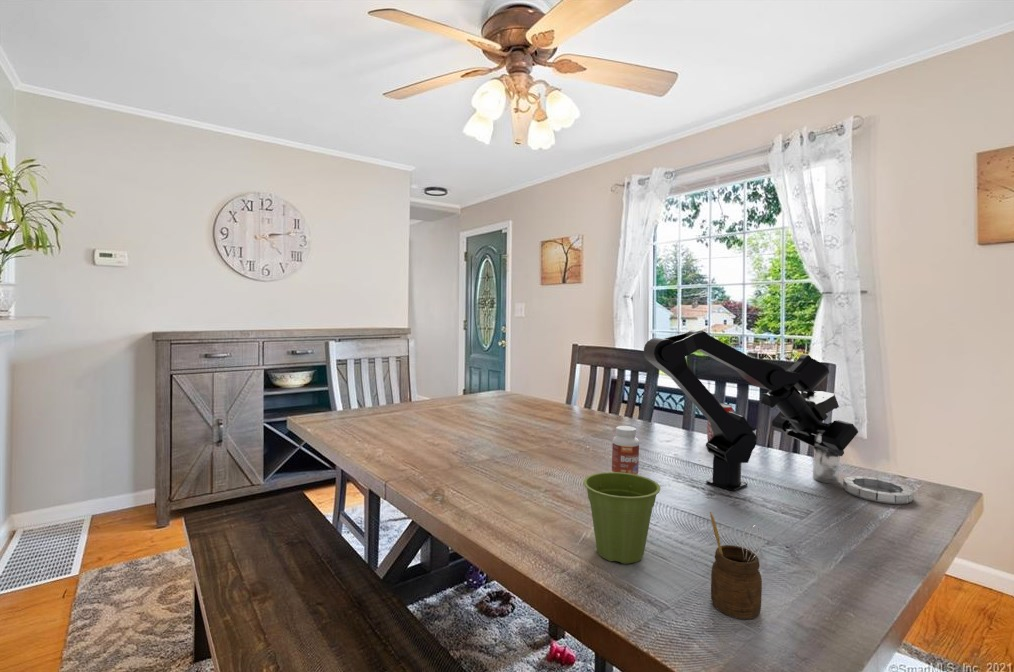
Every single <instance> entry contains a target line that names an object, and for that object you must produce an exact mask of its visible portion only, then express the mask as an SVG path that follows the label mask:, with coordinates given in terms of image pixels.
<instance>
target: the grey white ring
mask: <svg viewBox="0 0 1014 672" xmlns="http://www.w3.org/2000/svg"><path fill="white" fill-rule="evenodd" d="M842 480H843V481H842V482H843V483H842V486H843V490H844V491H845V492H846V493H848V494H850V495H851V496H854V497H855V498H856V497H857V498H859V499H862V500H866V501H871V502H875V503H879V504H886V505H894V506H895V505H896V506H897V505H903V506H904V505H909V504H911V503H912V502H913V500H914V491H913V490H912V489H911V488H910V487H908V486H906V485H904V484H902V483H898V482H895V481H892V480H888V479H883V478H880V477H878V478H877V477H872V476H871V477H870V476H864V475H855V476H854V475H851V476H847V477H844V478H843V479H842Z"/></svg>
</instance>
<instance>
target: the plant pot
mask: <svg viewBox="0 0 1014 672" xmlns="http://www.w3.org/2000/svg"><path fill="white" fill-rule="evenodd" d="M582 483H583V486H584V487H585V488H586V491H587V498H588V501H589V504H590V511H591V517H592V523H593V524H592V525H593V532H594V539H595V545H596V552H597V553H598V554H599V556H600V557H602V558H603V559H605V560H607V561H610V562H618V563H619V562H620V563H621V564H625V565H627V564H633V563H637V562H639V561H641V560H642V559H643V557H644V554H645V550H646V544H647V538H648V534H649V533H648V532H649V527H650V522H651V517H652V513H653V508H654V507H655V503H656V499H657V498H656V497H657V495H658V494H659V493H660V492H661V485H660V484H659V483H658V482H656V481H655V480H653V479H652V478H649V477H645V476H642V475H639V474H638V475H634V474H629V473H619V472H612V471H608V472H607V471H606V472H596V473H593V474H592V473H591V474H590V475H587V476H586V477H584V479H583V481H582Z"/></svg>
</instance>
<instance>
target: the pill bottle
mask: <svg viewBox="0 0 1014 672" xmlns="http://www.w3.org/2000/svg"><path fill="white" fill-rule="evenodd" d="M615 434H616V436H614V437H613V439H612V447H611V448H612V449H611V450H612V451H611V452H612V453H611V472H619V473H629V474H634V475H639V466H640V465H639V463H640V461H639V459H640V456H639V455H640V440H639V439H638V438H637V437H636V436H637V428H636V427H633V426H629V425H618V426H616V427H615Z"/></svg>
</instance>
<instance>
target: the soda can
mask: <svg viewBox="0 0 1014 672" xmlns="http://www.w3.org/2000/svg"><path fill="white" fill-rule="evenodd" d="M719 403H720V404H721V406H722V407H723V408H724V409H725V410H726V411H727V413H728V411H729V412H732V413H735V411H734V409H733V405H732V404H728V403H721V402H719ZM706 428H707V431H706V433H707V434H706V435H707V436H706V437H707V442H708V441H709V440H710V439H711V438H712V437H713V436H714V433H713V431H712V428H711V425H710V422H709V421H708V420H707V427H706Z"/></svg>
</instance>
